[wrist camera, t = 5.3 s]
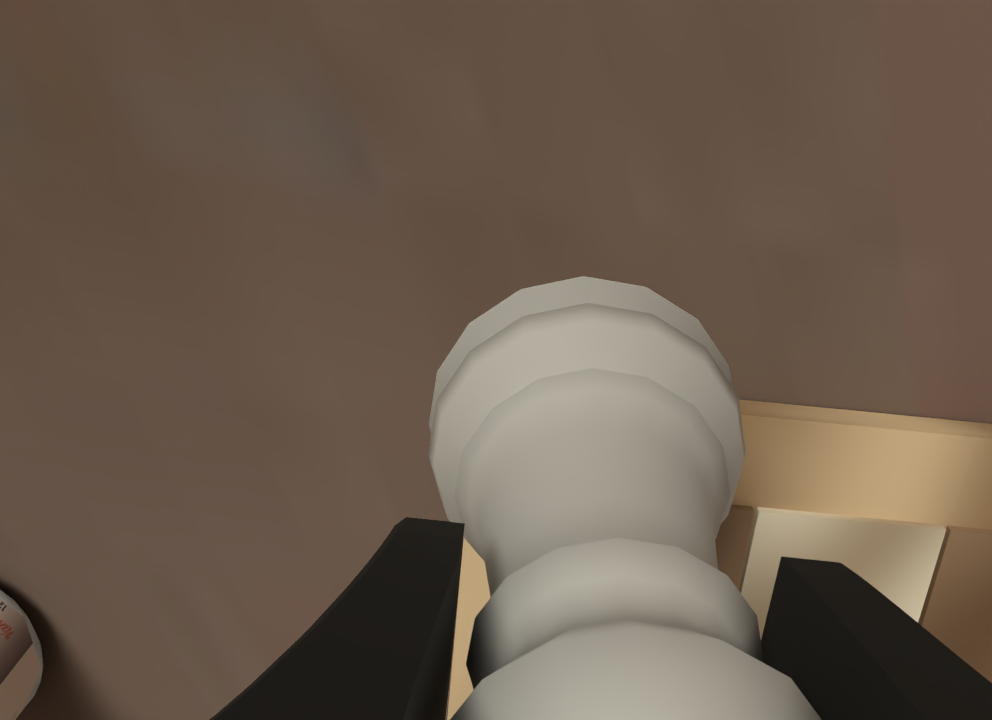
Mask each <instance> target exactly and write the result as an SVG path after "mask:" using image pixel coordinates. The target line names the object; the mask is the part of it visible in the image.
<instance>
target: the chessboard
mask: <svg viewBox="0 0 992 720" xmlns="http://www.w3.org/2000/svg"><path fill="white" fill-rule="evenodd" d="M739 406H740V413H741V420H742V428H743V435H744V442H745V449H746V452H745V461H744V466H743V469H742V473H741V476H740V479H739V482H738V485H737V489H736V492H735V495H734V498H733V501H732V504H731V508H730V511H729V514H728V516H727V517H726V519H725V520H724V521H723V522H722V523H721V525H720V528H719V531H718V535H717V538H716V539H715V543H716V553H717V563H718V570H719V571H721V572H723V573H724V574H726V575H727V576H728V577H729V578H730V580H731V581H732V582H733V584H734V585H735V586H736V588H737V589H738V591H739V592H740V593H741V595H742V596H743V597H744V599H745V600H746V601H747V603H748V604H749V606H750V607H751V608H752V610H753V611H754V612H755V614H756V615H757V619H758V626H759V632H760V639H761V638H762V634H763V630H764V626H765V622H766V617H767V613H768V609H769V605H770V601H771V597H772V593H773V589H774V584H775V580H776V576H777V572H778V568H779V564H780V560H781V556H782V557H792V558H802V559H811V560H821V561H830V562H840V563H842V564H843V565H845V566H846V567H848V568H849V569H851V570H852V571H853V572H855V573H856V574H858V575H859V576H860V577H862V578H863V579H864V580H866V581H867V582H868V583H869V584H871V585H872V586H873V587H875V588H876V589H877V590H878V591H880V592H881V593H882V594H883V595H884V596H886V597H887V598H888V599H889V600H891V601H892V602H893V603H894V604H896V605H897V606H898V607H899V608H900V609H902V610H903V611H904V612H905V613H907V614H908V615H909V616H910V617H911V618H913V619H914V620H915V621H916V622H917V623H919V624H920V625H921V626H922V627H924V628H925V629H926V630H927V631H928V632H930V633H931V634H932V635H933V636H934V637H936V638H937V639H938V640H939V641H941V642H942V643H943V644H944V645H945V646H947V647H948V648H949V649H950V650H952V651H953V652H954V653H955V654H956V655H958V656H959V657H960V658H961V659H962V660H964V661H965V662H966V663H967V664H969V665H970V666H971V667H972V668H974V669H975V670H976V671H977V672H979V673H980V674H981V675H982V676H984V677H985V678H986V679H987V680H989V681H990V682H991V683H992V424H987V423H976V422H966V421H956V420H945V419H935V418H925V417H914V416H904V415H894V414H883V413H873V412H863V411H852V410H842V409H832V408H821V407H811V406H801V405H790V404H780V403H770V402H759V401H749V400H739ZM489 599H490V591H489V585H488V579H487V573H486V567H485V562H484V560H483V559H482V558H481V557H480V556H479V555H478V554H477V552H476V551H475V550H474V549H473V548H472V546H471V545H470V544H469V543H468V542H467V541H466V539H465V538H464V541H463V552H462V563H461V574H460V585H459V596H458V608H457V619H456V630H455V641H454V652H453V663H452V674H451V685H450V697H449V708H448V719H447V720H450V719H451V718H452V717H453V715H454V714H455V713H456V712H457V710H458V709H459V708H460V707H461V705H462V704H463V703H464V702H465V700H466V699H467V698H468V697H469V695H470V694H471V693H472V692H473V690H474V689H473V686H472V682H471V679H470V676H469V673H468V669H467V666H466V661H467V656H468V650H469V645H470V640H471V635H472V630H473V625H474V620H475V617H476V616H477V615H478V613H479V612H480V611H481V609H482V608H483V607H484V606H485V604H486V603H487V602H488V600H489Z"/></svg>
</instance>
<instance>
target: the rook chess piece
mask: <svg viewBox="0 0 992 720" xmlns="http://www.w3.org/2000/svg"><path fill="white" fill-rule="evenodd" d="M429 428H430V431H431V439H430V445H429V452H428V456H429V459H430V463H431V466H432V470H433V473H434V477H435V480H436V483H437V487H438V490H439V494H440V497H441V501H442V504H443V507H444V510H445V512H446V515H447V517H448V519H449V520H450V522H456V523H465V526H464V538H465V539H466V541H467V542H468V543H469V544H470V545H471V546H472V548H473V549H474V550H475V551H476V552H477V554H478V555H479V556H480V557H481V558H482V559H483V560H484V562H485V567H486V573H487V579H488V585H489V591H490V599H489V600H488V602H487V603H486V604H485V606H484V607H483V608H482V609H481V611H480V612H479V613H478V615H477V616H476V617H475V620H474V625H473V630H472V635H471V640H470V645H469V650H468V656H467V661H466V666H467V669H468V673H469V676H470V679H471V682H472V686H473V689H474V690H473V692H472V693H471V694H470V695H469V697H468V698H467V699H466V700H465V702H464V703H463V704H462V705H461V707H460V708H459V709H458V710H457V712H456V713H455V714H454V715H453V717H452V718H451V719H450V720H822V719H821V718H820V717H819V715H818V714H817V713H816V711H815V710H814V709H813V707H812V706H811V705H810V703H809V702H808V700H807V699H806V698H805V696H804V695H803V694H802V692H801V691H800V690H799V688H798V687H797V686H796V684H795V683H794V682H793V680H792V679H791V678H790V677H788V676H786V675H785V674H783V673H781V672H779V671H777V670H775V669H774V668H772V667H770V666H768V665H766V664H765V663H764V660H763V653H762V646H761V639H760V632H759V626H758V619H757V615H756V614H755V612H754V611H753V610H752V608H751V607H750V606H749V604H748V603H747V601H746V600H745V599H744V597H743V596H742V595H741V593H740V592H739V591H738V589H737V588H736V586H735V585H734V584H733V582H732V581H731V580H730V578H729V577H728V576H727V575H726V574H724V573H723V572H721V571H719V570H718V563H717V553H716V543H715V539H716V538H717V535H718V531H719V528H720V525H721V523H722V522H723V521H724V520H725V519H726V517H727V516H728V514H729V511H730V508H731V504H732V501H733V498H734V495H735V492H736V489H737V485H738V482H739V479H740V476H741V473H742V469H743V466H744V461H745V452H746V449H745V442H744V435H743V428H742V420H741V413H740V406H739V399H738V395H737V393H736V392H735V390H734V389H733V387H732V382H731V375H730V368H729V366H728V364H727V363H726V361H725V360H724V358H723V357H722V355H721V354H720V352H719V351H718V349H717V348H716V346H715V345H714V343H713V342H712V340H711V339H710V337H709V336H708V334H707V333H706V331H705V330H704V328H703V327H702V325H701V324H700V322H699V321H698V319H696V318H695V317H693V316H692V315H690V314H688V313H687V312H685V311H684V310H682V309H680V308H679V307H677V306H676V305H674V304H672V303H671V302H669V301H668V300H666V299H665V298H663V297H661V296H660V295H658V294H657V293H655V292H653V291H652V290H650V289H649V288H647V287H643V286H638V285H632V284H626V283H620V282H614V281H608V280H602V279H596V278H591V277H585V276H582V277H577V278H573V279H568V280H563V281H558V282H554V283H549V284H544V285H539V286H534V287H530V288H525V289H520V290H519V291H517V292H516V293H514V294H513V295H511V296H510V297H508V298H507V299H505V300H504V301H502V302H501V303H499V304H498V305H496V306H495V307H493V308H492V309H490V310H489V311H487V312H486V313H484V314H483V315H481V316H480V317H478V318H477V319H475V320H474V321H472V322H471V323H469V324H468V326H467V327H466V329H465V330H464V332H463V334H462V335H461V337H460V338H459V340H458V341H457V343H456V344H455V346H454V347H453V349H452V350H451V352H450V353H449V355H448V356H447V358H446V359H445V361H444V362H443V364H442V365H441V367H440V368H439V370H438V371H437V376H436V383H435V389H434V395H433V402H432V408H431V414H430V421H429Z"/></svg>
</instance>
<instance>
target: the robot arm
mask: <svg viewBox="0 0 992 720" xmlns="http://www.w3.org/2000/svg"><path fill="white" fill-rule="evenodd" d="M464 526H465V523H456V522H446V521H437V520H427V519H418V518H408V517H406V518H405V519H403V520H402V521H401V522H399V523H398V524H397V525H395V526H394V528H393V529H392V531H391V532H390V534H389V535H388V537H387V538H386V539H385V541H384V542H383V543H382V545H381V546H380V548H379V549H378V550H377V552H376V553H375V554H374V555H373V557H372V558H371V559H370V560H369V562H368V563H367V564H366V565H365V567H364V568H363V569H362V570H361V571H360V573H359V574H358V575H357V576H356V577H355V579H354V580H353V581H352V582H351V583H350V585H349V586H348V587H347V588H346V589H345V590H344V591H343V592H342V593H341V594H340V596H339V597H338V598H337V599H336V600H335V601H334V602H333V603H332V604H331V605H330V606H329V608H328V609H327V610H326V611H325V612H324V613H323V614H322V615H321V616H320V617H319V618H318V620H317V621H316V622H315V623H314V624H313V625H312V626H311V627H310V628H309V629H308V630H307V631H306V632H305V633H304V634H303V635H302V636H301V637H300V638H299V639H298V640H297V641H296V642H295V643H294V644H293V645H292V646H291V647H290V648H289V649H288V650H287V651H286V652H284V653H283V654H282V655H281V656H280V657H279V658H278V659H277V660H276V661H275V662H274V663H273V664H272V665H271V666H270V667H269V668H268V669H267V670H266V671H265V672H263V673H262V674H261V675H260V676H259V677H258V678H257V679H256V680H255V681H254V682H253V683H252V684H251V685H250V686H249V687H247V688H246V689H245V690H244V691H243V692H242V693H241V694H239V695H238V696H237V697H236V698H235V699H234V700H232V701H231V702H230V703H229V704H228V705H227V706H225V707H224V708H223V709H222V710H221V711H220V712H218V713H217V714H216V715H215V716H213V717H212V718H211V719H210V720H445V715H446V706H447V697H448V689H449V680H450V669H451V659H452V649H453V639H454V628H455V618H456V608H457V598H458V588H459V577H460V567H461V557H462V547H463V537H464ZM761 646H762V653H763V660H764V663H765V664H766V665H768V666H770V667H772V668H774V669H775V670H777V671H779V672H781V673H783V674H785V675H786V676H788V677H790V678H791V679H792V680H793V682H794V683H795V684H796V686H797V687H798V688H799V690H800V691H801V692H802V694H803V695H804V696H805V698H806V699H807V700H808V702H809V703H810V705H811V706H812V707H813V709H814V710H815V711H816V713H817V714H818V715H819V717H820V718H821V719H822V720H992V683H991V682H990V681H989V680H987V679H986V678H985V677H984V676H982V675H981V674H980V673H979V672H977V671H976V670H975V669H974V668H972V667H971V666H970V665H969V664H967V663H966V662H965V661H964V660H962V659H961V658H960V657H959V656H958V655H956V654H955V653H954V652H953V651H952V650H950V649H949V648H948V647H947V646H945V645H944V644H943V643H942V642H941V641H939V640H938V639H937V638H936V637H934V636H933V635H932V634H931V633H930V632H928V631H927V630H926V629H925V628H924V627H922V626H921V625H920V624H919V623H917V622H916V621H915V620H914V619H913V618H911V617H910V616H909V615H908V614H907V613H905V612H904V611H903V610H902V609H900V608H899V607H898V606H897V605H896V604H894V603H893V602H892V601H891V600H889V599H888V598H887V597H886V596H884V595H883V594H882V593H881V592H880V591H878V590H877V589H876V588H875V587H873V586H872V585H871V584H869V583H868V582H867V581H866V580H864V579H863V578H862V577H860V576H859V575H858V574H856V573H855V572H853V571H852V570H851V569H849V568H848V567H846V566H845V565H843V564H842V563H840V562H830V561H821V560H811V559H802V558H792V557H782V556H781V560H780V564H779V568H778V572H777V576H776V580H775V584H774V589H773V593H772V597H771V601H770V605H769V609H768V613H767V617H766V622H765V626H764V630H763V634H762V638H761Z"/></svg>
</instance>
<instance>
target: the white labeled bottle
mask: <svg viewBox="0 0 992 720" xmlns="http://www.w3.org/2000/svg"><path fill="white" fill-rule="evenodd" d="M42 671H43V658H42V650H41V644H40V641H39V639H38V637H37V635H36V632H35V630H34V628H33V626H32V624H31V622H30V620H29V618H28V617H27V615H26V614H25V612H24V611H23V610H22V609H21V608H20V607H19V605H18V604H17V603H16V602H15V601H14V600H13V599H12V598H10V597H9V596H8V595H6V594H5V593H4V592H3V591H1V590H0V720H16V719H17V717H18V716H19V714H20V713H21V712H22V710H23V709H24V708H25V707H26V706H27V704H28V703H29V702H30V701H31V699H32V698H33V697H34V696H35V693H36V691H37V689H38V686H39V684H40V682H41V677H42Z"/></svg>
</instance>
